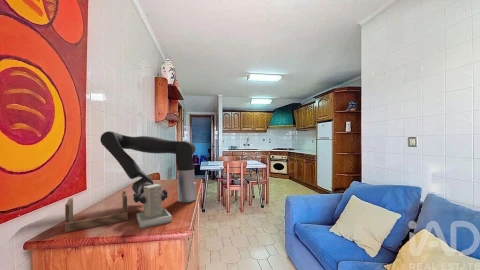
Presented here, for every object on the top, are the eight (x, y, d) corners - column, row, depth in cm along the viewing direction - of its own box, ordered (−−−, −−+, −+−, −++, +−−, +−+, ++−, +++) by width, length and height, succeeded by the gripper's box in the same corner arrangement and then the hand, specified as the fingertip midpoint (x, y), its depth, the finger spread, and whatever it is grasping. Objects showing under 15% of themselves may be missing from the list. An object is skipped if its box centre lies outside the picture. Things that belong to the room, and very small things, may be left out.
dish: (165, 213, 101) (165, 208, 101) (171, 221, 90) (171, 215, 90) (136, 219, 94) (136, 213, 94) (140, 228, 84) (140, 222, 84)
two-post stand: (125, 212, 104) (125, 191, 104) (127, 220, 94) (127, 196, 94) (69, 222, 93) (69, 198, 93) (65, 232, 83) (64, 205, 83)
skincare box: (157, 210, 96) (156, 183, 96) (162, 213, 94) (162, 184, 94) (143, 215, 92) (143, 186, 92) (148, 217, 89) (148, 187, 89)
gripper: (130, 185, 101) (134, 193, 87) (162, 181, 109) (171, 188, 94) (131, 201, 101) (135, 212, 87) (163, 196, 109) (171, 205, 94)
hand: (153, 199), depth 91 cm, fingers closed on skincare box, 7 cm apart
